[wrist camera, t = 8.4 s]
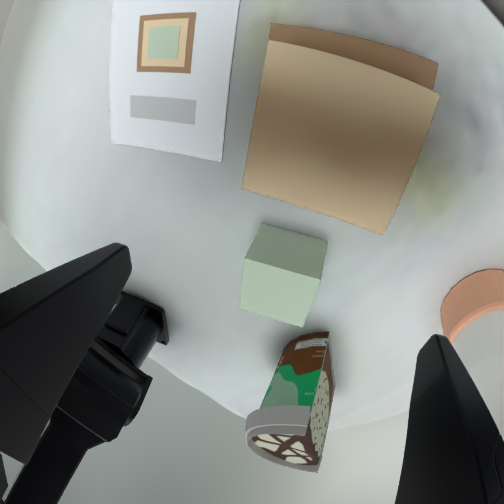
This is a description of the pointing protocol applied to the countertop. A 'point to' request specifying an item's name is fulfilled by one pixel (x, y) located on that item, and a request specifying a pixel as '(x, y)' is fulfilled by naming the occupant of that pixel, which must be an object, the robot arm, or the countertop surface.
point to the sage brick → (282, 274)
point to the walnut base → (360, 52)
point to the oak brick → (335, 135)
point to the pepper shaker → (479, 334)
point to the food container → (296, 406)
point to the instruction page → (171, 74)
